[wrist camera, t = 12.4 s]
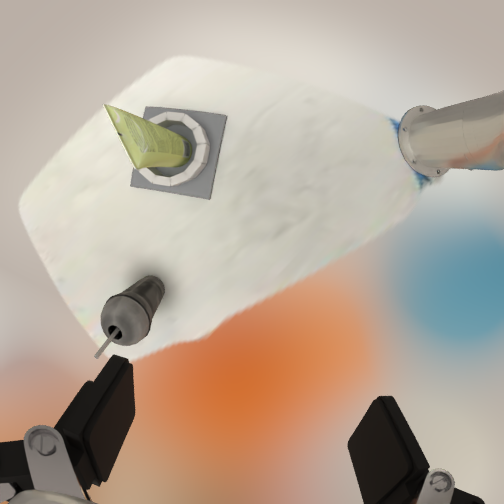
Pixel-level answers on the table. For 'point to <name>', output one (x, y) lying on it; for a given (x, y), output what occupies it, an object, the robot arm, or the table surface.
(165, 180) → the socket board
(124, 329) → the beverage cup
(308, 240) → the table surface
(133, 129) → the tube
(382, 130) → the table surface
